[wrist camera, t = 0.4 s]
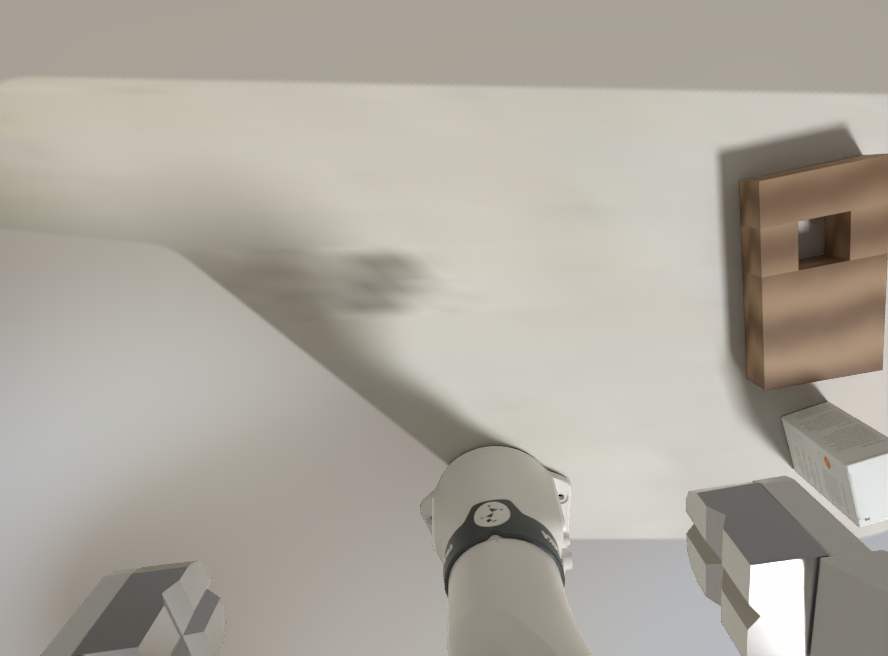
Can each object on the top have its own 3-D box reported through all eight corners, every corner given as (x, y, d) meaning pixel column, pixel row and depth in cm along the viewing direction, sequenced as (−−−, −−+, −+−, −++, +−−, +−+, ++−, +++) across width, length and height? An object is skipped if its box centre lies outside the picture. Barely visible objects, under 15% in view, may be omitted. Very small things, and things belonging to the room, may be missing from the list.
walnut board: (856, 358, 56) (882, 369, 52) (746, 377, 57) (764, 390, 53) (863, 155, 50) (892, 153, 46) (739, 181, 51) (759, 181, 47)
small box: (840, 456, 59) (918, 513, 49) (792, 471, 60) (859, 530, 50) (828, 399, 57) (907, 446, 47) (779, 415, 58) (846, 465, 48)
